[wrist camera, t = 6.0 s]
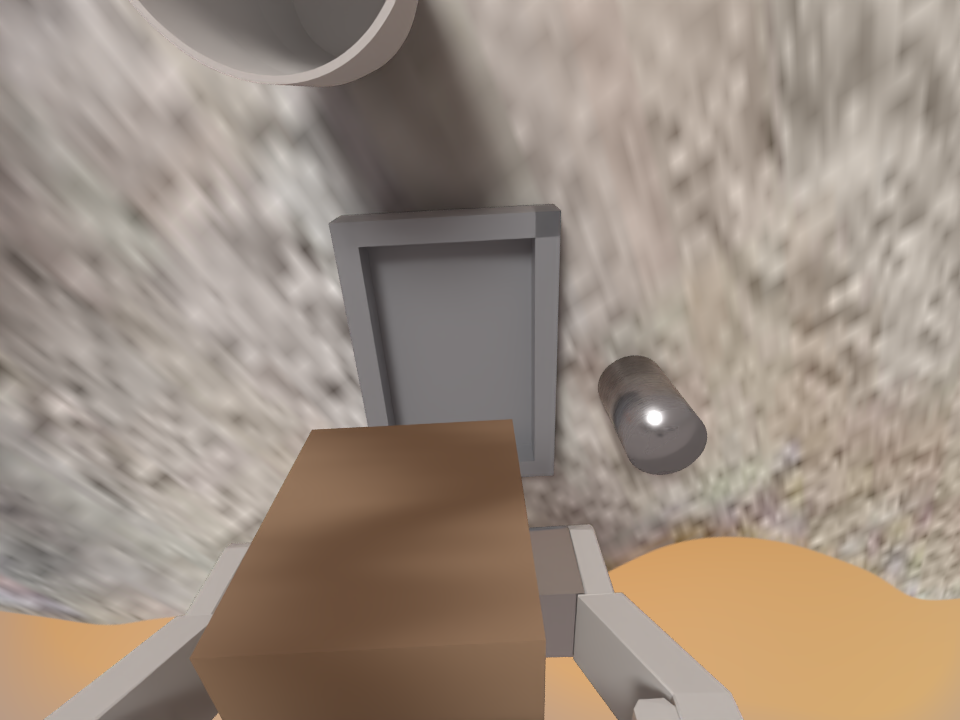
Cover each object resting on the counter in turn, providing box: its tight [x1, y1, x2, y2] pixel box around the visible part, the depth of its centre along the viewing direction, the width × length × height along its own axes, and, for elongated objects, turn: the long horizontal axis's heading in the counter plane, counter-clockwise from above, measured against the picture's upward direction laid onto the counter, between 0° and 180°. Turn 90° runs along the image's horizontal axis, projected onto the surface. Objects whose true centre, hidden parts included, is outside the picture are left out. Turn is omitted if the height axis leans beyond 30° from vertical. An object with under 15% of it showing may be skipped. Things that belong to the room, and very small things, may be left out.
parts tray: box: [329, 204, 561, 477], centre depth 26 cm, size 11×16×2 cm
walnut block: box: [189, 419, 546, 720], centre depth 9 cm, size 4×4×5 cm
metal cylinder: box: [598, 356, 707, 475], centre depth 26 cm, size 4×4×6 cm
